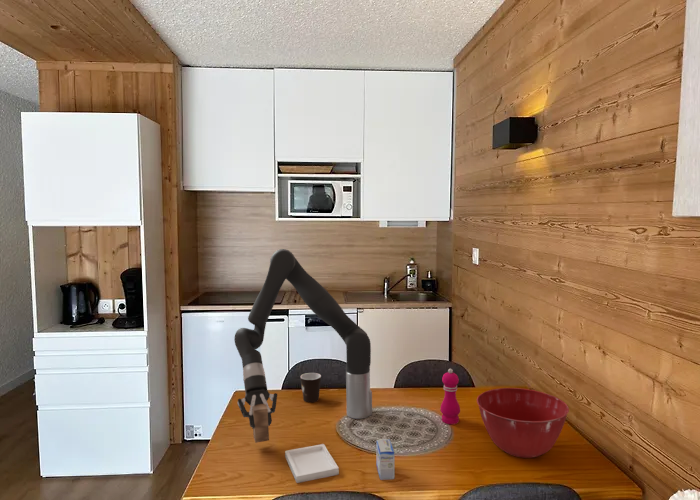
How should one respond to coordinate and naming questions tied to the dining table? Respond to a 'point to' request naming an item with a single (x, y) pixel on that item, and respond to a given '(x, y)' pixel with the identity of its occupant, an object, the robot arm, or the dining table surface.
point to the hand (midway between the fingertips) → (261, 426)
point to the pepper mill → (450, 398)
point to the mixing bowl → (522, 420)
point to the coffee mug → (310, 386)
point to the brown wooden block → (260, 423)
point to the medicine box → (385, 459)
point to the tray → (311, 463)
